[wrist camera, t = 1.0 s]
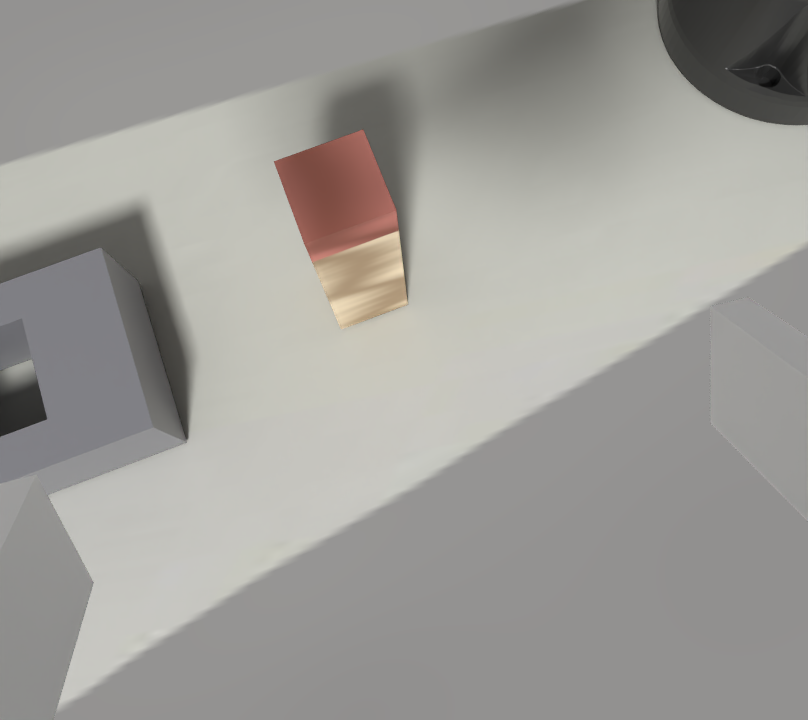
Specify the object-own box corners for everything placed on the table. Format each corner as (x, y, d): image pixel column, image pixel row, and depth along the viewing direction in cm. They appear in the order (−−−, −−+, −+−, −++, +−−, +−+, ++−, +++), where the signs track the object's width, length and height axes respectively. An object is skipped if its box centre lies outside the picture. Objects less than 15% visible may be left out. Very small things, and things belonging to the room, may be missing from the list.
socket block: (138, 281, 43) (100, 247, 39) (186, 442, 41) (153, 427, 36) (-114, 372, 43) (-184, 349, 38) (-80, 542, 40) (-151, 540, 35)
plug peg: (383, 243, 43) (363, 129, 32) (407, 304, 42) (396, 209, 31) (318, 267, 43) (274, 161, 32) (341, 329, 42) (304, 243, 31)
